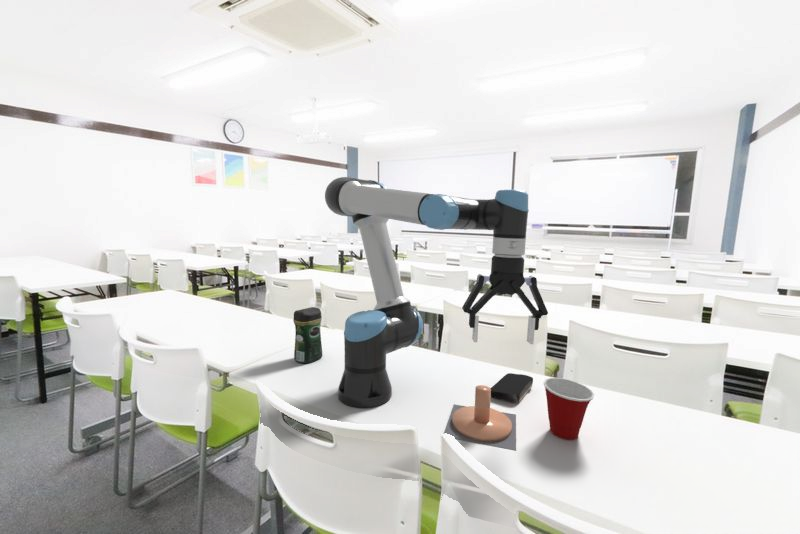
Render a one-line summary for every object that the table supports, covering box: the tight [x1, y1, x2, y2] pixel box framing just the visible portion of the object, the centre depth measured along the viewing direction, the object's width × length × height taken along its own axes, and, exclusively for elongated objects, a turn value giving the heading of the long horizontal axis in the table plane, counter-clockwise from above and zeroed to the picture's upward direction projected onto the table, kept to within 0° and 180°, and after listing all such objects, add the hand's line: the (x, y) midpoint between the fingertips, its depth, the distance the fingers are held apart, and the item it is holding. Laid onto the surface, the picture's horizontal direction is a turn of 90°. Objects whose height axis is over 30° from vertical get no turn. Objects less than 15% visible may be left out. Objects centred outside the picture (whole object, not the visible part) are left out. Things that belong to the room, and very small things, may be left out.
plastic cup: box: [543, 377, 595, 441], centre depth 85 cm, size 11×11×12 cm
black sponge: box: [490, 372, 534, 404], centre depth 108 cm, size 16×8×4 cm, turn 145°
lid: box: [452, 384, 512, 442], centre depth 88 cm, size 14×14×9 cm
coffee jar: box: [292, 306, 323, 364], centre depth 130 cm, size 10×8×19 cm
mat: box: [443, 404, 517, 452], centre depth 89 cm, size 16×16×1 cm
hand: (502, 341), depth 90 cm, fingers open, 13 cm apart
